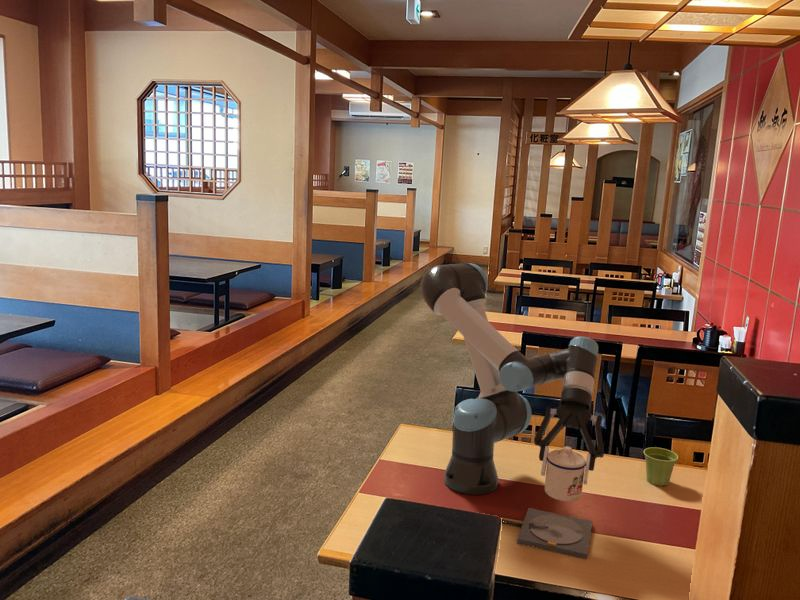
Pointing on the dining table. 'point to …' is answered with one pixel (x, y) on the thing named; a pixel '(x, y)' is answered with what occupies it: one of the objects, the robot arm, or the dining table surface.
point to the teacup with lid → (564, 474)
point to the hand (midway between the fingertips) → (563, 478)
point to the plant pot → (659, 465)
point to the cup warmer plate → (555, 532)
